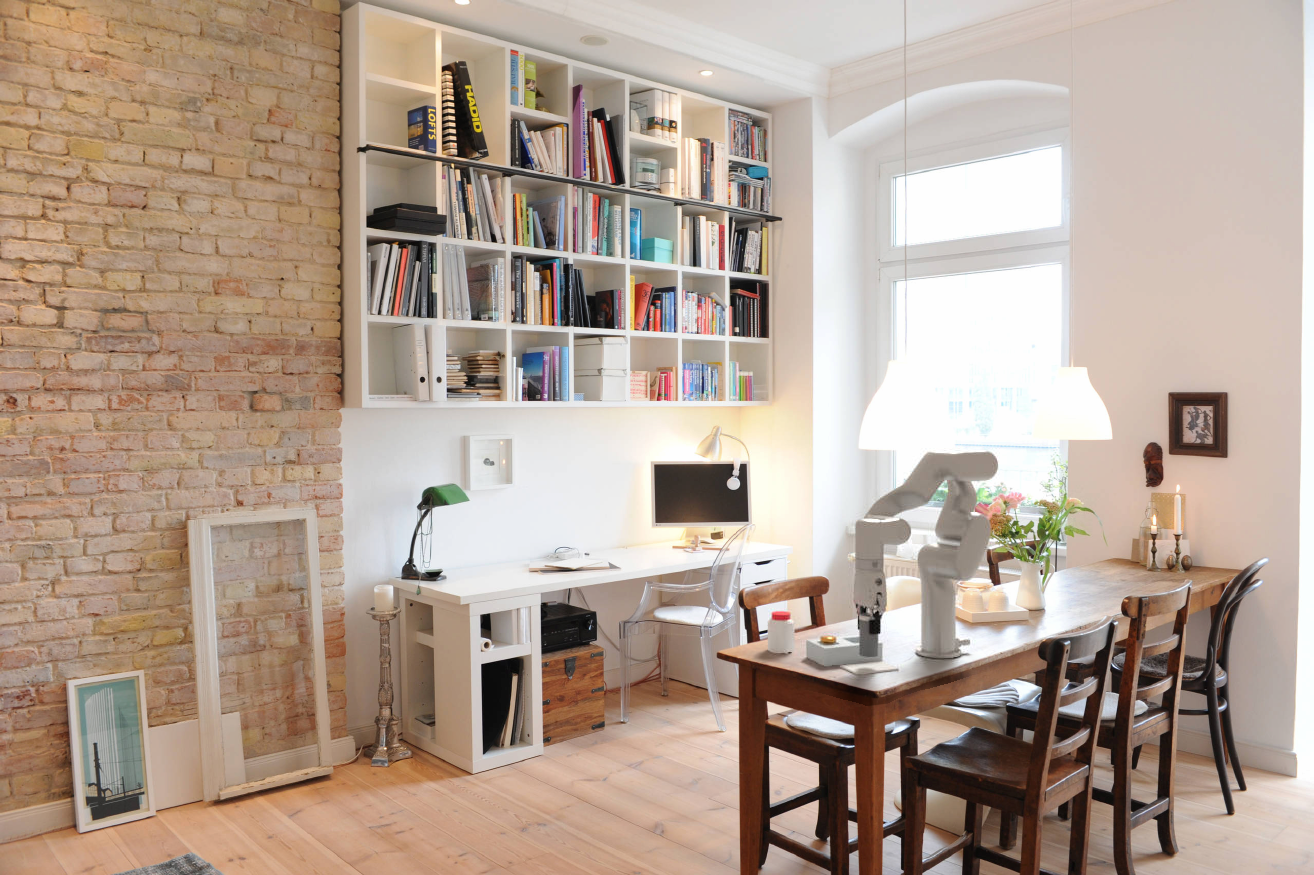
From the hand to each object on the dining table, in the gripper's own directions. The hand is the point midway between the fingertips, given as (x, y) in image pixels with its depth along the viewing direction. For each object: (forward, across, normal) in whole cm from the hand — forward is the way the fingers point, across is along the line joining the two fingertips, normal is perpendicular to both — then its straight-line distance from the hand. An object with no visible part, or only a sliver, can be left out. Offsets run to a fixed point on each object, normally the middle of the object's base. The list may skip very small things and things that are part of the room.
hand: (869, 631), depth 274 cm
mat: (+10, 0, 0) cm, 10 cm away
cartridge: (+6, 0, 0) cm, 6 cm away
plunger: (+10, +12, +6) cm, 17 cm away
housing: (+10, +12, +1) cm, 16 cm away
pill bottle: (+11, +28, +13) cm, 32 cm away
